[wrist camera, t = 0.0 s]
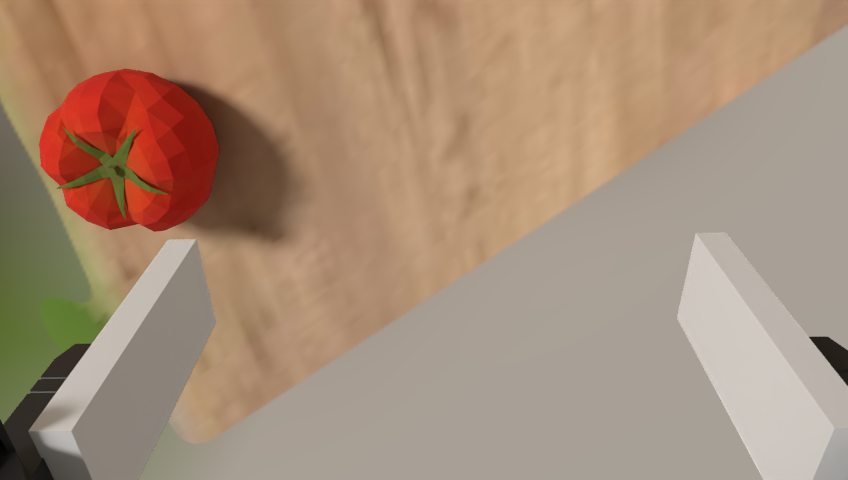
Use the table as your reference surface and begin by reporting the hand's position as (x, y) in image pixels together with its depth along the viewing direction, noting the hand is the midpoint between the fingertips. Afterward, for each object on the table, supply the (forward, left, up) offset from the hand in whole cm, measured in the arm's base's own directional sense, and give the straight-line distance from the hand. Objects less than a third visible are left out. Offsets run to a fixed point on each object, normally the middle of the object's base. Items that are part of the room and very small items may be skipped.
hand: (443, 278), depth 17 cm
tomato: (+6, -20, -28) cm, 35 cm away
